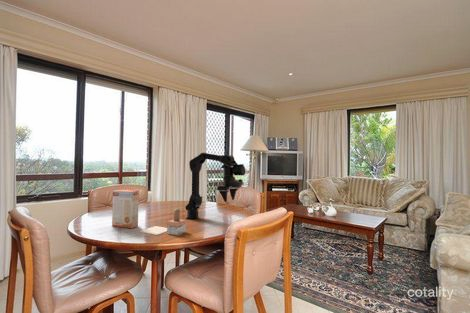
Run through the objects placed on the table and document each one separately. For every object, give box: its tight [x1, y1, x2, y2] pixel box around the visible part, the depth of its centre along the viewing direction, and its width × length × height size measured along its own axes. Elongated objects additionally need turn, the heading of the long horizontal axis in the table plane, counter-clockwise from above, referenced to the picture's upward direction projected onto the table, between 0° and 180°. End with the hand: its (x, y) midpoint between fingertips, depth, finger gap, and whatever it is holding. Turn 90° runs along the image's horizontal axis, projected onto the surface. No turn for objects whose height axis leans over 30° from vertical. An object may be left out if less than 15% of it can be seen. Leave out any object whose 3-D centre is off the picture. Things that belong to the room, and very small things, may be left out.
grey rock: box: [166, 223, 187, 236], centre depth 135 cm, size 7×7×6 cm
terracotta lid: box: [167, 208, 186, 227], centre depth 135 cm, size 7×7×8 cm
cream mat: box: [139, 225, 167, 236], centre depth 138 cm, size 12×12×1 cm
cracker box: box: [111, 189, 140, 229], centre depth 145 cm, size 14×6×21 cm, turn 71°
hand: (229, 200), depth 154 cm, fingers open, 9 cm apart
